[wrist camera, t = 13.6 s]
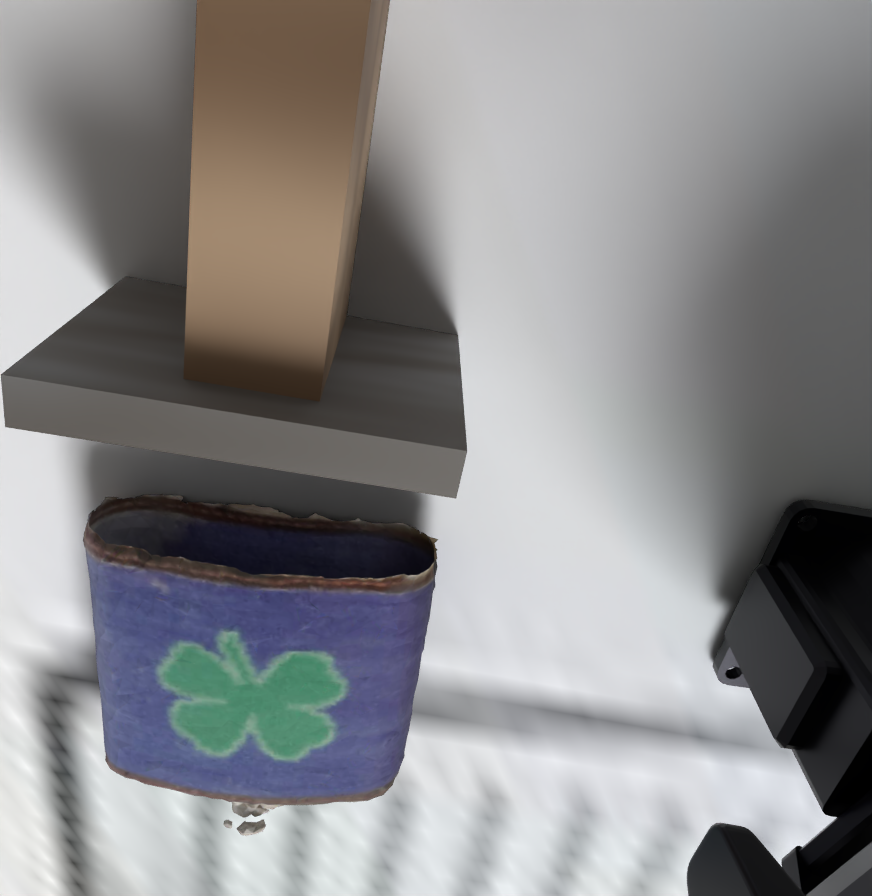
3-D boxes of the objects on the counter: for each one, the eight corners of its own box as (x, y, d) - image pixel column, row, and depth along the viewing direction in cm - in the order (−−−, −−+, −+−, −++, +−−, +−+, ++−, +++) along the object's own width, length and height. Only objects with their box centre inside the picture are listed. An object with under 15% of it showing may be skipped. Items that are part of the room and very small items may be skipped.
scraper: (124, -432, 13) (-95, -761, 7) (594, -311, 13) (696, -534, 8) (126, 316, 19) (5, 426, 13) (450, 372, 19) (456, 498, 14)
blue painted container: (103, 484, 21) (123, 758, 26) (57, 547, 18) (89, 837, 23) (441, 523, 22) (397, 783, 27) (442, 589, 19) (393, 863, 24)
